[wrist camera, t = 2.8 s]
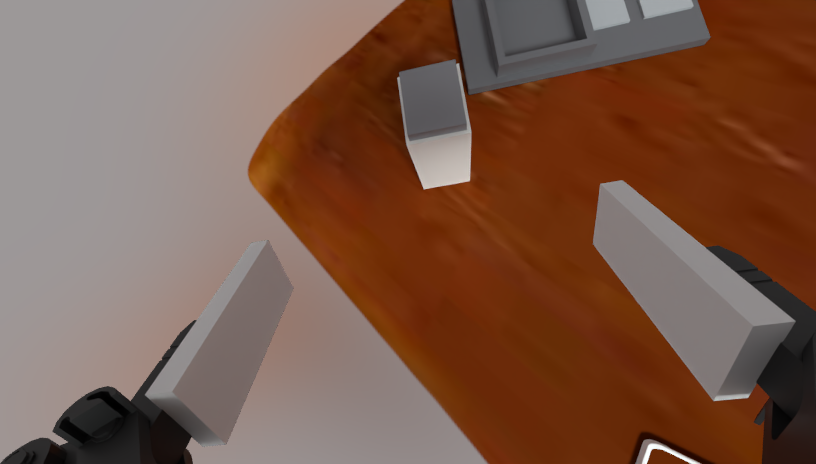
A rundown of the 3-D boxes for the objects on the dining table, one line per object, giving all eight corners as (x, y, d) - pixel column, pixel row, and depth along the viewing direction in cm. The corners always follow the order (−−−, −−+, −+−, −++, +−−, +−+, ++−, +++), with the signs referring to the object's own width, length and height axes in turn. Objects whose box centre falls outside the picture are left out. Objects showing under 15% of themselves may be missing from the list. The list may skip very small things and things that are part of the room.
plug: (460, 130, 37) (458, 54, 25) (469, 181, 36) (471, 126, 24) (416, 138, 38) (394, 69, 26) (423, 189, 37) (404, 139, 25)
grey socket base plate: (670, -49, 37) (687, -79, 34) (703, 44, 34) (725, 21, 31) (452, 6, 40) (451, -17, 37) (468, 95, 38) (468, 78, 35)
